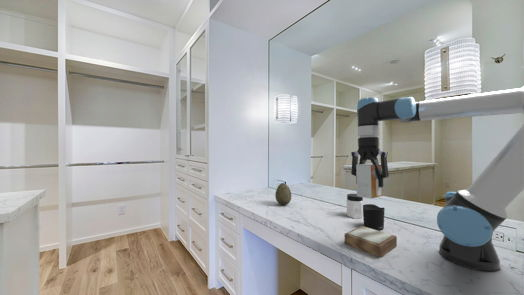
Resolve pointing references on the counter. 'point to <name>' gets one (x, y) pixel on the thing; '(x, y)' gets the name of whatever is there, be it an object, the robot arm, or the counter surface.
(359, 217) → the jar
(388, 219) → the counter surface
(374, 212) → the pen holder
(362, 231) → the plinth
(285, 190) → the decorative egg
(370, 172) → the small box
